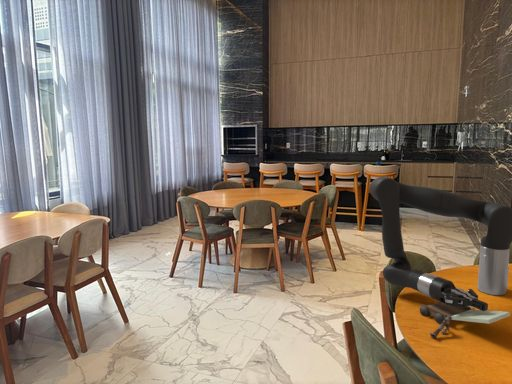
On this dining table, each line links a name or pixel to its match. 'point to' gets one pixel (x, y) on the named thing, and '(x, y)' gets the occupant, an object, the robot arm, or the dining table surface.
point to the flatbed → (442, 311)
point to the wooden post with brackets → (441, 326)
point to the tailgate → (480, 316)
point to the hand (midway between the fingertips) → (486, 307)
